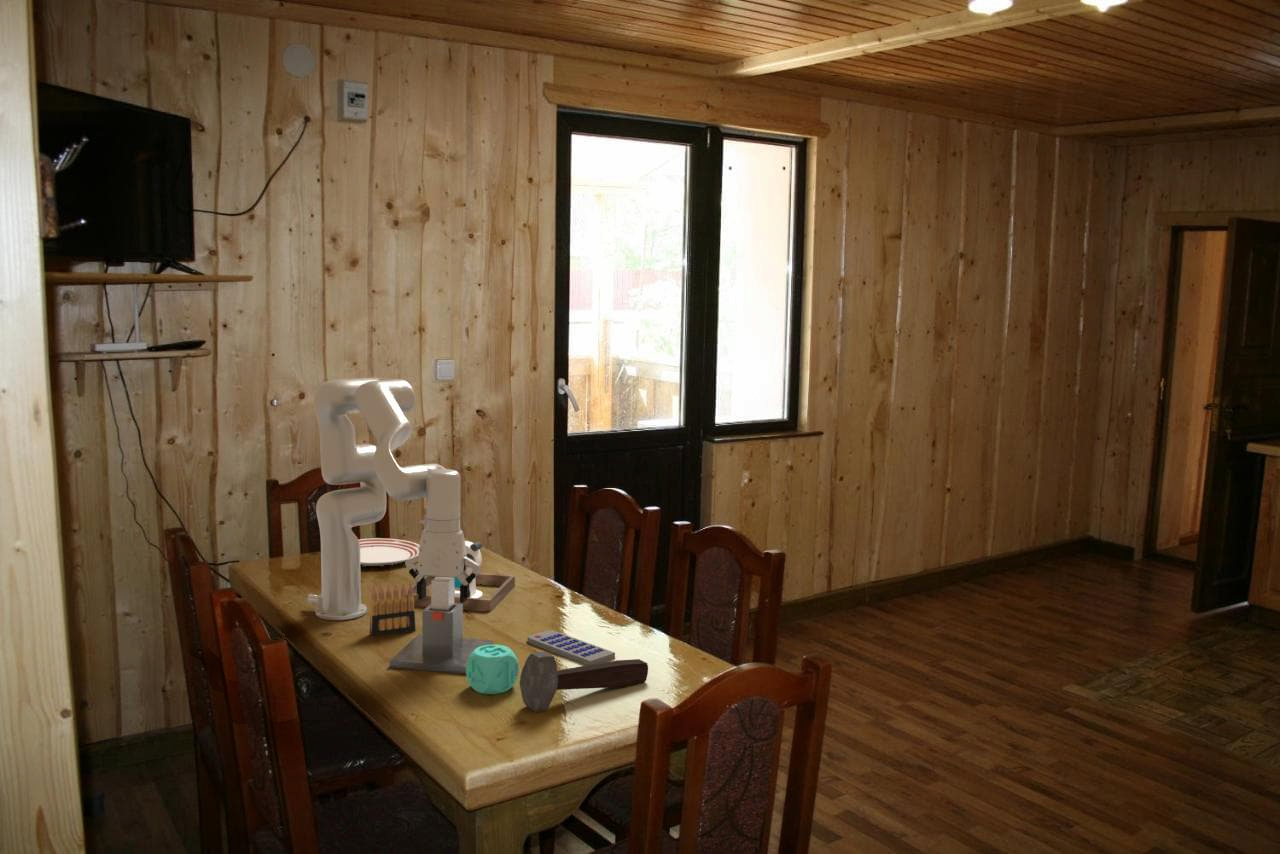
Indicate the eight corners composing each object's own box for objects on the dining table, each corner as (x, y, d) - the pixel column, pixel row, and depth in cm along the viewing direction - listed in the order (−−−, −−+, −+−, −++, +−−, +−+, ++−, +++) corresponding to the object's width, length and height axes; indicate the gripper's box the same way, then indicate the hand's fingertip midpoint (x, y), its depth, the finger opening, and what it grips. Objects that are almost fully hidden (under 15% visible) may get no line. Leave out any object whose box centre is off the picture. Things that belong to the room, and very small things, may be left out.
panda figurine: (430, 598, 281) (430, 543, 279) (449, 587, 292) (449, 534, 290) (471, 603, 278) (472, 548, 276) (489, 591, 288) (489, 538, 286)
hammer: (633, 693, 229) (516, 706, 211) (640, 642, 229) (523, 651, 210) (647, 700, 226) (529, 714, 207) (654, 649, 225) (536, 658, 206)
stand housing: (389, 667, 230) (389, 616, 229) (418, 640, 248) (418, 593, 247) (468, 674, 228) (469, 622, 226) (492, 646, 245) (493, 598, 244)
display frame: (401, 604, 275) (401, 593, 274) (432, 580, 298) (432, 569, 298) (490, 611, 271) (490, 600, 271) (515, 585, 295) (515, 575, 294)
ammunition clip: (371, 636, 250) (371, 587, 248) (369, 634, 251) (369, 585, 250) (415, 630, 255) (415, 582, 253) (413, 628, 256) (413, 580, 255)
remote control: (589, 669, 234) (590, 660, 234) (523, 643, 250) (524, 634, 249) (615, 660, 240) (615, 651, 240) (548, 635, 255) (549, 626, 255)
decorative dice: (490, 697, 215) (490, 660, 214) (464, 687, 221) (465, 650, 219) (519, 687, 221) (519, 650, 220) (493, 677, 227) (494, 641, 225)
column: (430, 652, 236) (431, 580, 234) (437, 646, 240) (437, 575, 238) (448, 653, 235) (448, 582, 233) (454, 647, 239) (454, 577, 237)
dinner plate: (442, 557, 323) (442, 546, 323) (375, 576, 301) (375, 565, 300) (378, 543, 338) (378, 533, 338) (310, 561, 315) (310, 550, 315)
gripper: (399, 526, 231) (399, 601, 234) (475, 531, 229) (475, 607, 231) (412, 519, 239) (412, 592, 241) (485, 523, 236) (485, 597, 239)
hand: (442, 599), depth 236 cm, fingers open, 9 cm apart
